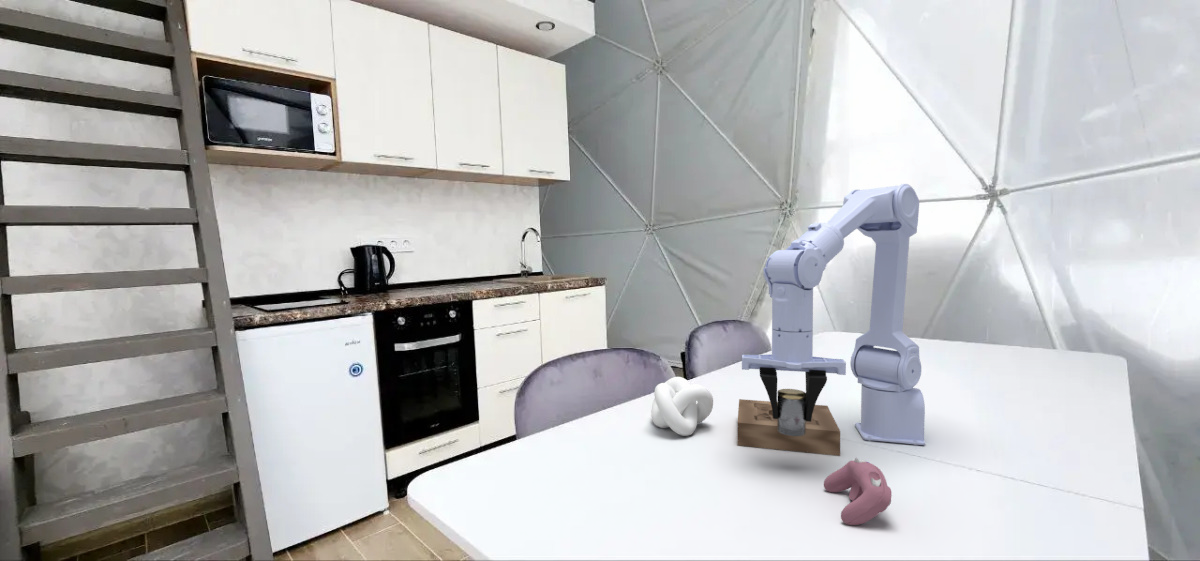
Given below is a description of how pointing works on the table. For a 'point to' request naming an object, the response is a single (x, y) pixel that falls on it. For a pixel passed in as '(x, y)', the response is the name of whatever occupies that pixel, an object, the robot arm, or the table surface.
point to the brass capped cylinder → (791, 412)
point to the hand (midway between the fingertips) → (791, 418)
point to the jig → (763, 433)
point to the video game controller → (860, 490)
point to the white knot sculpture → (681, 405)
